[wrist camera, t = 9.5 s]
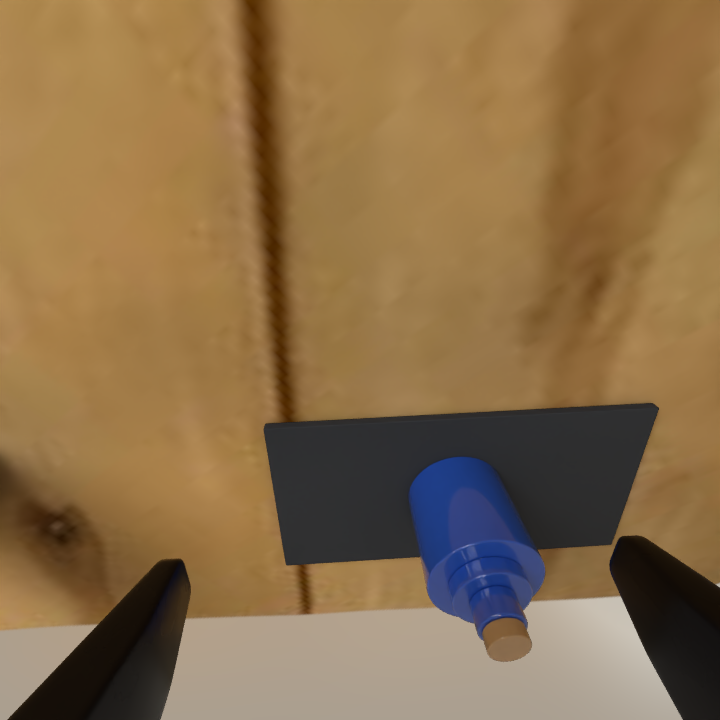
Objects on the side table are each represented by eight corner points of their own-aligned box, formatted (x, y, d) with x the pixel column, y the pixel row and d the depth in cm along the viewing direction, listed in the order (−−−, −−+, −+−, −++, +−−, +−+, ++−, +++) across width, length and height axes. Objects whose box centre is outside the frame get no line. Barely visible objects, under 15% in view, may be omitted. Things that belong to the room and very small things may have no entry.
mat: (286, 558, 25) (285, 565, 24) (264, 423, 20) (263, 429, 20) (607, 538, 25) (611, 545, 25) (652, 402, 21) (659, 407, 20)
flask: (407, 529, 23) (437, 691, 16) (409, 458, 21) (445, 611, 14) (495, 524, 24) (564, 682, 16) (507, 453, 21) (593, 601, 14)
